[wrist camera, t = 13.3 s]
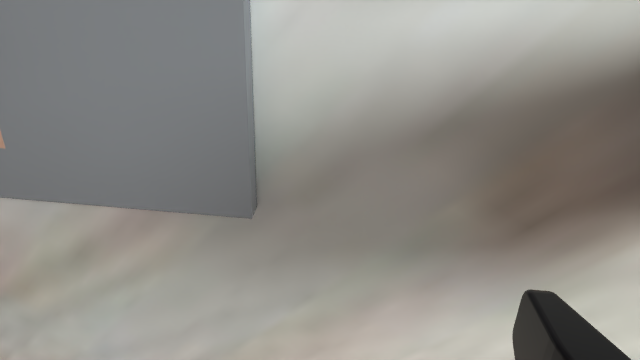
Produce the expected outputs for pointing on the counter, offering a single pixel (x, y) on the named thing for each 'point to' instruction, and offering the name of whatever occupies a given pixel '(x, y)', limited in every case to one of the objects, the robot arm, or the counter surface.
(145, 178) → the slate board
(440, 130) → the counter surface
